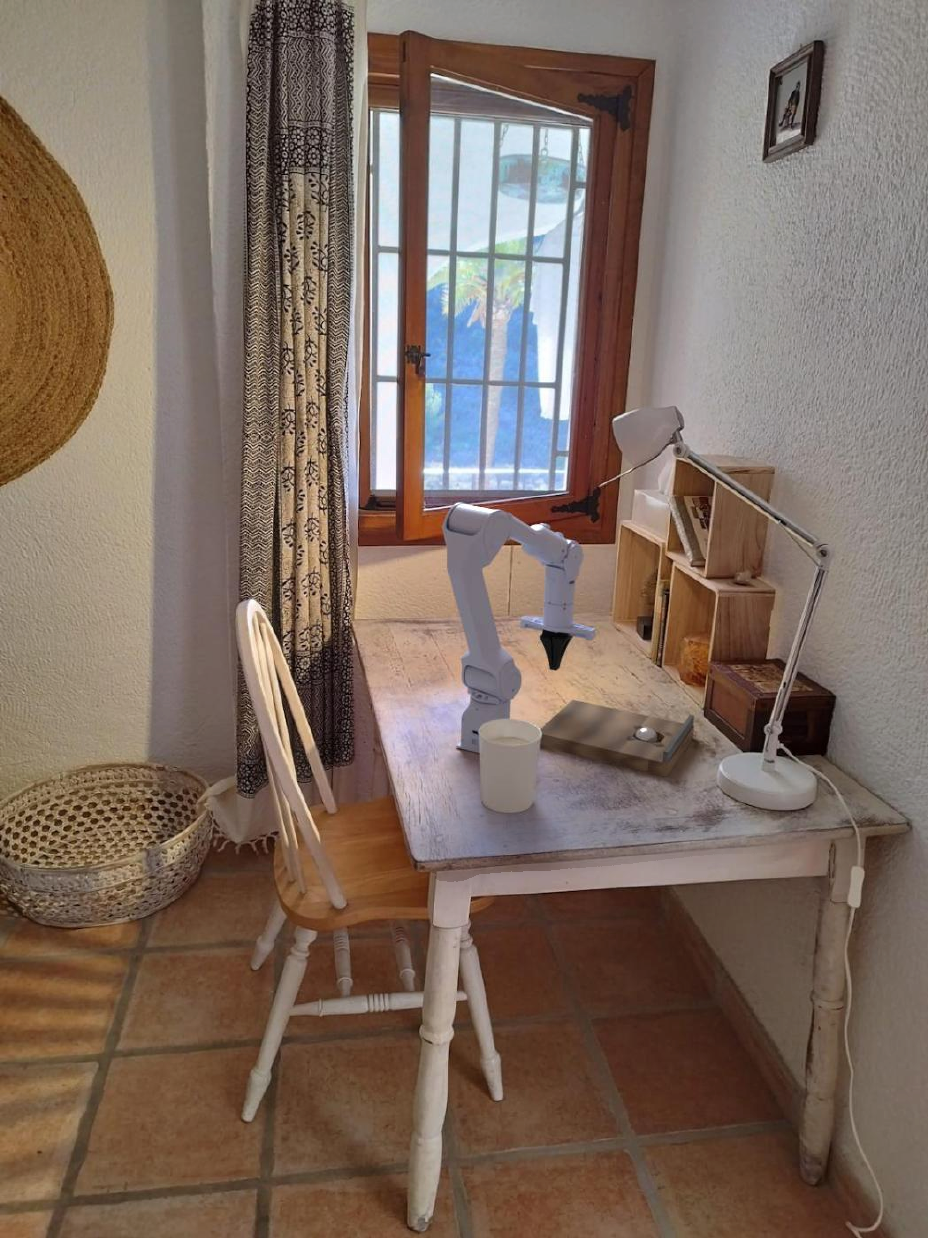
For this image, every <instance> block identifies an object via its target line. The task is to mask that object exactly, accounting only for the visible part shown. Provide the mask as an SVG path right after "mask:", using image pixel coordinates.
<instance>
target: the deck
mask: <svg viewBox="0 0 928 1238" xmlns="http://www.w3.org/2000/svg"><path fill="white" fill-rule="evenodd" d="M694 720H695V715H693V714H689V715H688V717H687V718H686V719H685V721H684V722H683V723H682V722H679V721H674V720H671V719H669V720H668V719H664V718H660V717H655V716H650V715H645V714H640V713H638V712H637V713H636V712H631V711H628V710H622V709H617V708H613V707H610V706H609V707H608V706H603V705H599V704H596V703H595V704H594V703H590V702H584V701H581V700H576V699H572V700H570V701H569V702H568V703H567V704H566V705H565V706H564V707H563V708H562V709H561V710H560V711H559V712H557V713H556V714H555V715H554V716H553V717H552V718H551V719H550V720H549V721H547V723H546V724H545V725H543V726H542V727H541V728H540V730H541V732H542V738H541V744H540V748H541V747H542V748H546V749H548V750H553V751H558V752H561V753H566V754H570V755H574V756H578V757H581V758H585V759H586V758H587V759H591V760H594V761H600V762H604V763H606V764H612V765H616V766H620V767H624V768H628V769H632V770H637V771H640V772H644V773H648V774H653V775H657V776H660V777H665V778H667V777H668V776H669V774H670V773H671V772H672V770H673V768H675V766H676V764H677V763H678V761H679V759H680V758H681V757H682V755H683V753H684V752H685V750H686V749H687V747H688V746H689V744H690V743H691V741H692V740H693V739H694V731H695V730H694V729H695V725H694V722H695V721H694ZM643 727H648V728H651V729H652V730H654V731H655V733H656V735H657V743H648V742H644V741H639V740H637V739H635V734H636V732H637V731H638V730H639V729H640V728H643Z"/></svg>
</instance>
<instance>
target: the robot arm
mask: <svg viewBox="0 0 928 1238" xmlns="http://www.w3.org/2000/svg"><path fill="white" fill-rule="evenodd" d="M447 511H448V512H447V513H446V516H445V519H443V523H442V524H441V531H442V534H443V538H444V542H445V545H446V568H447V573H448V577H449V582H450V586H451V588H452V591H453V597H454V599H455V603H456V607H457V610H458V613H459V614H458V615H459V618H460V622H461V626H462V630H463V632H464V637H465V641H466V645H467V648H468V649H467V650H466V651H465V652H464V654H463V655H462V656H461V658H460V664H461V682H462V684H463V685H464V686H465V687H466V688H467V694H468V695H469V696H470V699H469V703H468V706H467V707H466V709H465V710H464V711H463V713H462V715H461V726H460V727H461V728H460V741H459V742H457V743H456V744H455V746H456V748H458V749H462V750H465V751H469V752H472V753H478V754H480V749H479V728H480V727H481V726H482V725H483V724H484V723H486V722H489V721H492V720H497V719H511V702H512V701H511V700H514V699H515V697H516V696H517V695H518V694H519V691H520V690H521V687H522V683H523V682H522V681H523V679H522V672H521V670H520V669H519V667H517V666H516V664H515V660H514V657H513V656H512V655H510V653H508V651H506V649H504V647H502V646H501V642H500V638H499V634H498V630H497V626H496V625H497V624H496V622H495V618H494V614H493V610H492V606H491V602H490V597H489V593H488V589H487V585H486V580H485V576H484V574H483V568H485V567H488V566H490V565H491V564H492V562H493V561H494V560H495V557H497V555H498V553H499V552H500V551H501V549H502V548H503V546H504V545H505V543H506V542H507V541H510V540H512V541H514V542H517V543H518V544H520V545H521V549H522V551H523V552H524V553H525V554H526V555H528V556H529V557H532V558H534V559H536V560H538V561H539V562H540V564H541V565H542V566H545V570H544V571H545V572H544V587H543V589H544V591H543V607H542V617H537V616H536V617H535V616H527V615H525V616H524V615H523V616H522V617H521V618H520V620H519V621H520V624H519V625H520V626H519V628H520V629H531V630H535V631H536V630H537V631H542V632H541V634H540V635H539V641H540V642H541V644H542V646H543V649H544V650H545V653H546V657H547V660H548V661H547V662H548V666H549V667H548V668H549V670H550V671H558V670H559V669H560V668H561V664H562V661H563V658H564V654H565V652H566V650H567V648H568V646H569V644H570V642H571V641H572V639H573V637H576V638H582V639H585V640H586V641H592V640H594V639H595V637H596V628H595V627H590V626H587V625H583V624H580V623H578V622H575V621H574V608H575V607H574V606H575V592H576V580H577V579H578V577H579V576H580V568H581V566H582V564H583V561H584V558H585V557H584V556H585V553H584V551H583V548H582V546H581V545H580V544H579V542H578V541H577V540H573V539H567V538H565V537H564V533H561V532H558V531H556V532H555V531H553V530H551V529H550V528H551V526H550V525H549V524H547V523H542V522H541V523H539V524H533V525H531V526H530V525H529V524H526V523H525V522H524V521H522V520H520V519H519V518H517V516H514V515H513V513H510V512H506V511H504V510H501V509H492V508H486V507H480V506H477V505H475V506H474V505H471V504H468V503H465V502H456V503H455V504H453V505H452V506H451V507H450V508H449V510H447Z"/></svg>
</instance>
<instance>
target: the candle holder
mask: <svg viewBox="0 0 928 1238" xmlns="http://www.w3.org/2000/svg"><path fill="white" fill-rule="evenodd" d="M540 729H541V728H539V727H538V726H537V725H535V724H534V723H531V722H530V721H526V720H522V719H516V718H510V719H497V720H492V721H489V722H486V723H484V724H483V725H482V726H481V727H480V728H479V749H480V753H479V776H480V777H479V779H480V780H479V781H480V782H479V783H480V785H479V786H480V799H481V803H482V804H483V805H484V806H485V807H486V808H487V809H489V810H491V811H494V812H497V813H502V814H517V813H521V812H525V811H527V810H528V809H531V807H532V805H533V803H534V800H535V792H536V784H537V778H538V777H537V776H538V768H539V767H538V766H539V760H540V752H541V751H540V750H541V747H540V744H541V738H542V732H541V730H540Z"/></svg>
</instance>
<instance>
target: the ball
mask: <svg viewBox="0 0 928 1238" xmlns="http://www.w3.org/2000/svg"><path fill="white" fill-rule="evenodd" d="M635 739H637V740H639V741H644V742H648V743H657V735H656V733H655V731H654V730H652V729H651V728H648V727H643V728H640V729H639V730H638V731H637V732H636V734H635Z"/></svg>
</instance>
